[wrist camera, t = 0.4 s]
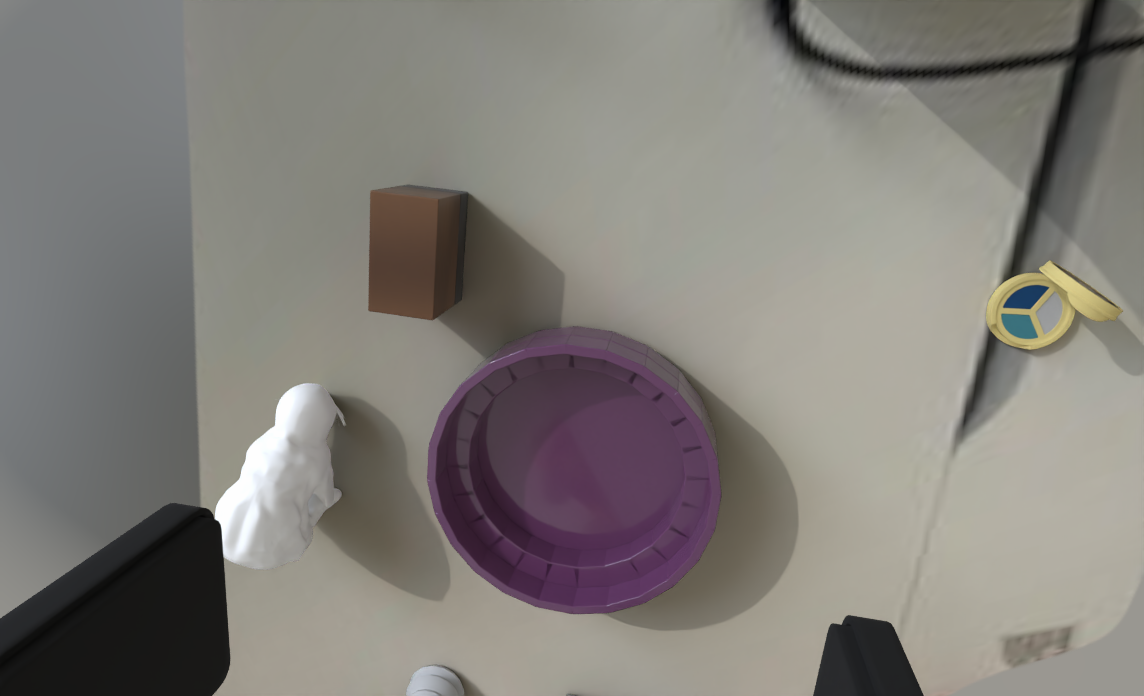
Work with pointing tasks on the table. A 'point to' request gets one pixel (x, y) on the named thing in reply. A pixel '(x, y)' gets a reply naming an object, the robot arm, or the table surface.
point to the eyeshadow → (1043, 307)
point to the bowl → (576, 471)
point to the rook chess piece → (435, 682)
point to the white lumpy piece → (282, 484)
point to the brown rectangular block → (416, 250)
